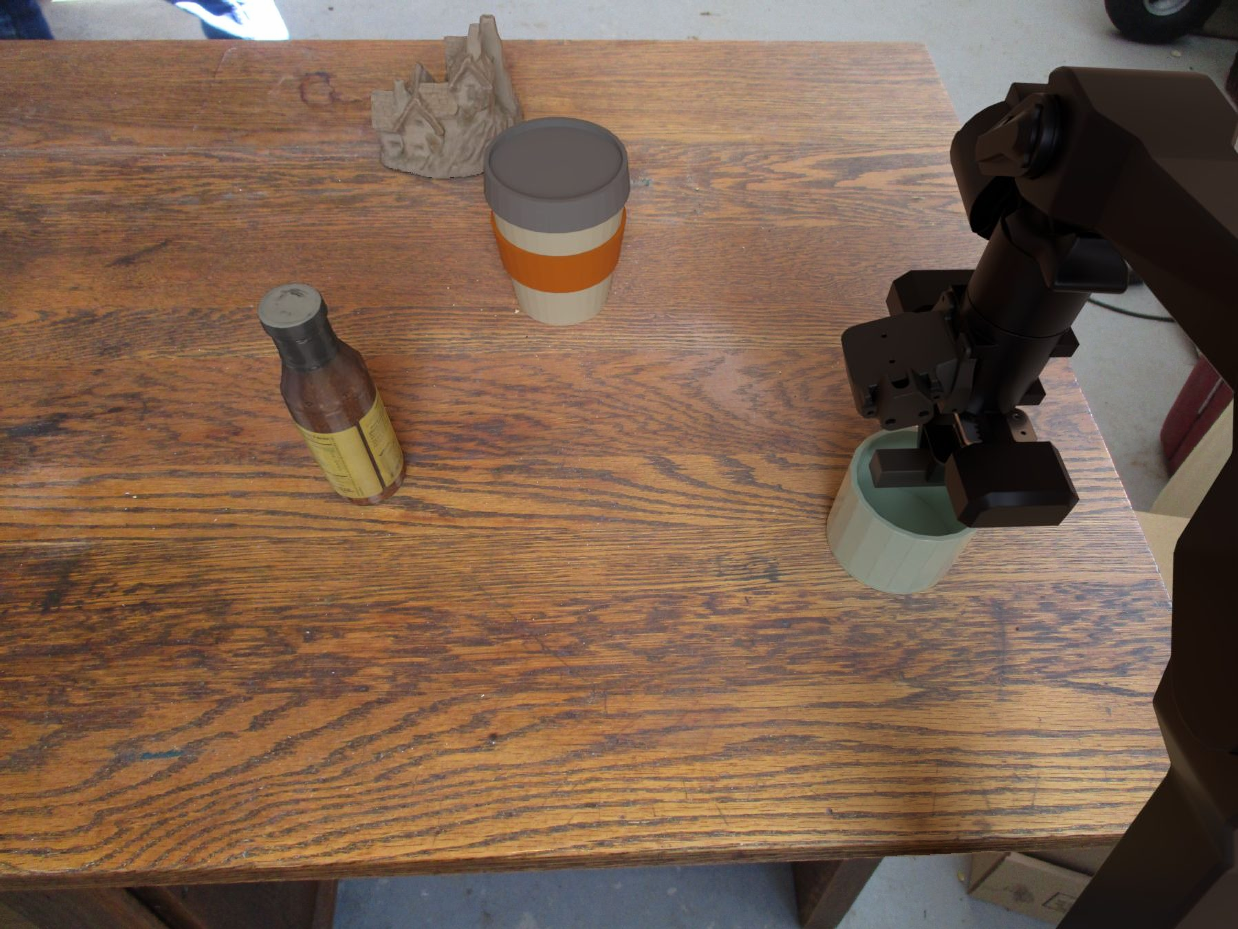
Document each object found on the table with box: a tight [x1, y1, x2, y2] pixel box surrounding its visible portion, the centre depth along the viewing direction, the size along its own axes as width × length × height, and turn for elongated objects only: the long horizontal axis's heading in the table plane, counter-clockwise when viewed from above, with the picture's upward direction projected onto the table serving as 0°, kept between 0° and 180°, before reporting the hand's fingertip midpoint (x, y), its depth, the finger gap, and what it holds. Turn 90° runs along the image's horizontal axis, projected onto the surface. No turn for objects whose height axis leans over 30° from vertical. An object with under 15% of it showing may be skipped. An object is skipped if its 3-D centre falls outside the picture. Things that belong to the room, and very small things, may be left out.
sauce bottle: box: [256, 282, 407, 506], centre depth 60 cm, size 7×6×20 cm
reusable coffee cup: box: [483, 116, 631, 327], centre depth 75 cm, size 13×13×15 cm
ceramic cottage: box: [370, 13, 524, 179], centre depth 90 cm, size 16×16×15 cm
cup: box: [825, 426, 980, 595], centre depth 62 cm, size 10×10×8 cm
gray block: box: [868, 448, 946, 488], centre depth 58 cm, size 7×2×2 cm, turn 93°
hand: (928, 467), depth 58 cm, fingers closed on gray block, 2 cm apart
